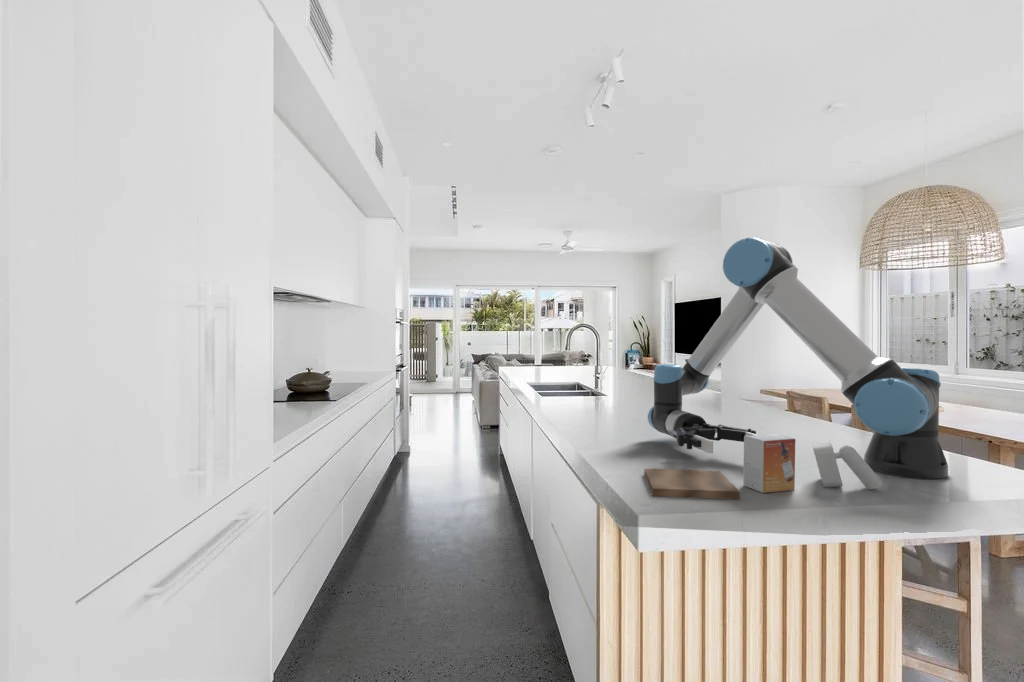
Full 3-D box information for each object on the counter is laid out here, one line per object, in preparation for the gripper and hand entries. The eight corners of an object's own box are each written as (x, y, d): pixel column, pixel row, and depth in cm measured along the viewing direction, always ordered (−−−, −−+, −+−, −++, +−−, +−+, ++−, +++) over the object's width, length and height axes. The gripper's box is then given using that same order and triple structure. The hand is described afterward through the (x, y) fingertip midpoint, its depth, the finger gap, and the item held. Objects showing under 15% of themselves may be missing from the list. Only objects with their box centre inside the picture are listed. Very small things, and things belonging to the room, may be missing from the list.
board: (719, 477, 111) (719, 470, 111) (739, 499, 97) (739, 491, 97) (644, 475, 113) (644, 468, 113) (653, 496, 99) (653, 488, 99)
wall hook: (887, 493, 98) (873, 442, 99) (826, 498, 103) (813, 449, 104) (880, 482, 105) (867, 434, 106) (823, 487, 110) (811, 441, 111)
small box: (762, 494, 100) (763, 440, 100) (742, 485, 106) (742, 435, 105) (795, 490, 102) (796, 438, 102) (774, 482, 108) (775, 432, 107)
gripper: (728, 438, 136) (787, 459, 116) (642, 443, 131) (688, 466, 110) (729, 410, 136) (788, 426, 115) (642, 414, 131) (688, 431, 110)
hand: (739, 445), depth 113 cm, fingers open, 13 cm apart
